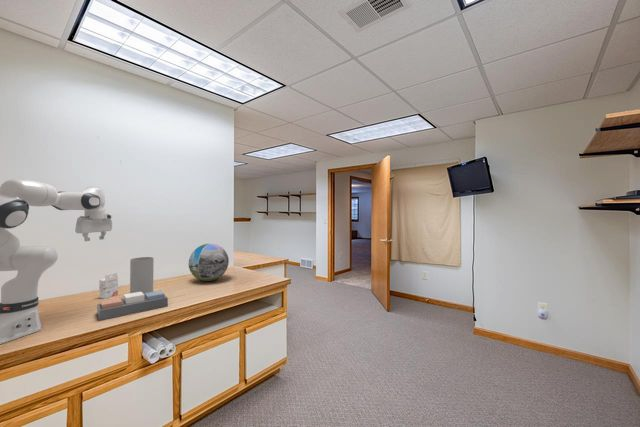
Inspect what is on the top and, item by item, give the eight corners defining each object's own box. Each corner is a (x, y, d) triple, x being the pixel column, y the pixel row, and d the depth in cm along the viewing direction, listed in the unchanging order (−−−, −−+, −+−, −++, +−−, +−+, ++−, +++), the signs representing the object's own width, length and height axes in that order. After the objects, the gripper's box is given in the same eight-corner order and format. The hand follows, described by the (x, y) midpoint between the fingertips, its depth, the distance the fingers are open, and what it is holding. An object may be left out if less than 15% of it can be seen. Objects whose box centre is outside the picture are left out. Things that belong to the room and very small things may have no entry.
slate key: (147, 303, 150) (147, 296, 150) (144, 300, 156) (144, 293, 156) (164, 300, 156) (164, 293, 156) (160, 296, 162) (160, 290, 162)
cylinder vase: (157, 296, 173) (157, 258, 173) (136, 301, 162) (136, 261, 162) (147, 292, 179) (147, 256, 179) (126, 297, 169) (126, 259, 169)
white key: (125, 305, 143) (126, 297, 143) (123, 301, 149) (123, 294, 149) (144, 301, 149) (144, 294, 149) (141, 298, 155) (141, 291, 155)
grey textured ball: (207, 275, 232) (207, 241, 232) (236, 277, 223) (236, 242, 223) (179, 283, 204) (179, 244, 204) (211, 287, 194) (211, 246, 194)
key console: (99, 320, 133) (99, 310, 133) (97, 313, 143) (97, 304, 143) (167, 306, 155) (167, 297, 155) (161, 300, 164) (161, 292, 164)
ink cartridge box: (111, 294, 176) (112, 272, 176) (118, 294, 175) (118, 272, 175) (98, 298, 168) (99, 275, 168) (105, 298, 167) (105, 275, 167)
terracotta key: (101, 312, 136) (101, 305, 136) (100, 308, 142) (100, 301, 142) (122, 308, 142) (122, 301, 142) (119, 304, 148) (119, 297, 148)
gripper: (83, 216, 139) (83, 242, 139) (114, 215, 159) (114, 238, 159) (71, 216, 139) (71, 242, 139) (104, 215, 159) (104, 238, 159)
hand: (94, 240), depth 149 cm, fingers open, 8 cm apart
